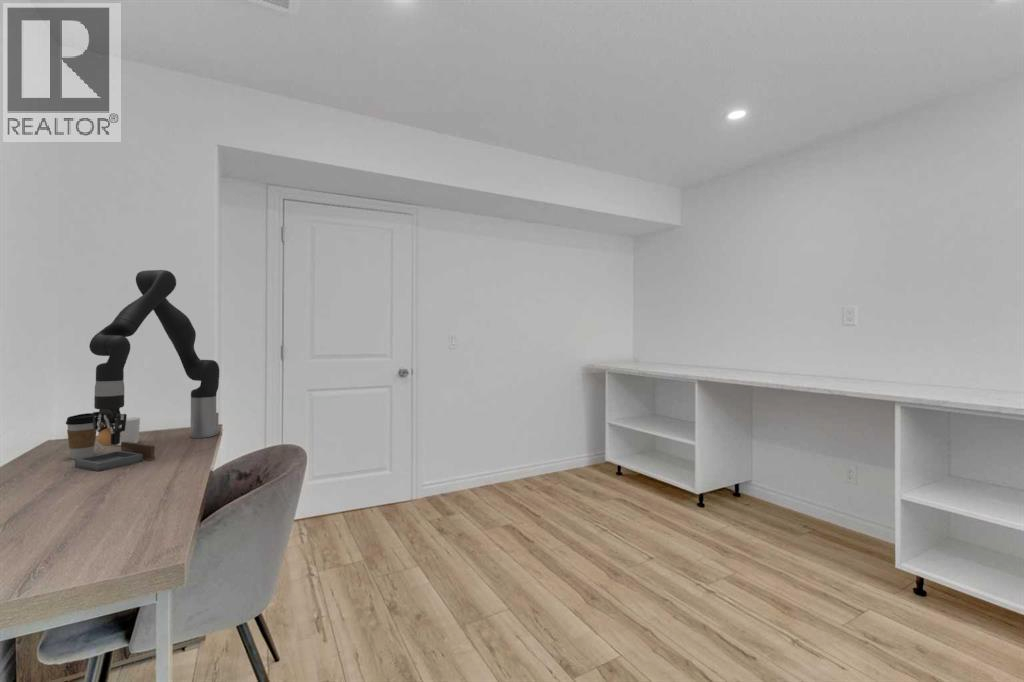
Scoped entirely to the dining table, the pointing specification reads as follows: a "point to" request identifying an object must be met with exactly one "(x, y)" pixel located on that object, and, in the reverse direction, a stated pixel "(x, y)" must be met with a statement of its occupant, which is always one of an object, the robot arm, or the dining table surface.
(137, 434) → the white cup
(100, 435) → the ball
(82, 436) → the coffee cup
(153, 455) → the fence
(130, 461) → the tray
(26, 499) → the dining table surface
